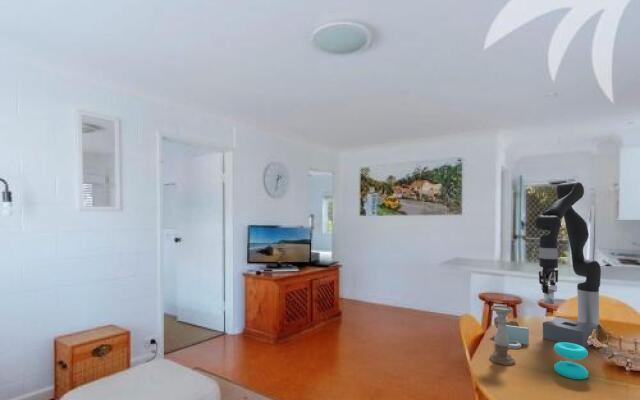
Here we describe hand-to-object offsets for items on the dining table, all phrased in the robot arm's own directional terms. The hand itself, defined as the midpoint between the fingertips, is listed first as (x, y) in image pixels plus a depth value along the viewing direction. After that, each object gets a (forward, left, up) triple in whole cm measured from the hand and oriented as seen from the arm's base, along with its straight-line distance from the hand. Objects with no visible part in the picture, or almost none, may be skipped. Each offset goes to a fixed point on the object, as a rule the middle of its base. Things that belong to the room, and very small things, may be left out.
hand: (548, 292), depth 175 cm
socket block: (+1, +9, -20) cm, 22 cm away
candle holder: (+51, +5, -20) cm, 55 cm away
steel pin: (0, 0, -5) cm, 5 cm away
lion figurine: (+19, -10, -20) cm, 29 cm away
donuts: (+42, +25, -20) cm, 53 cm away
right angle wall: (+31, -1, -20) cm, 37 cm away
